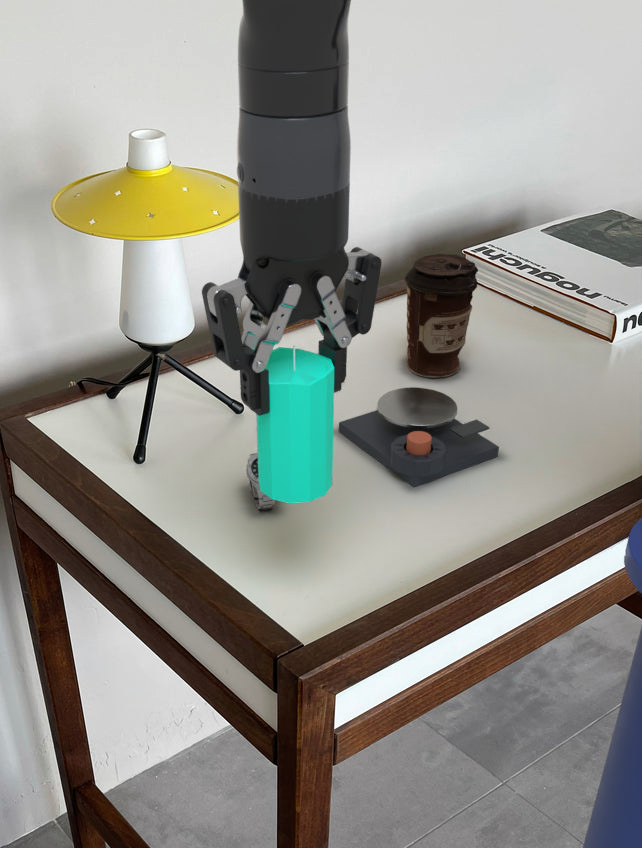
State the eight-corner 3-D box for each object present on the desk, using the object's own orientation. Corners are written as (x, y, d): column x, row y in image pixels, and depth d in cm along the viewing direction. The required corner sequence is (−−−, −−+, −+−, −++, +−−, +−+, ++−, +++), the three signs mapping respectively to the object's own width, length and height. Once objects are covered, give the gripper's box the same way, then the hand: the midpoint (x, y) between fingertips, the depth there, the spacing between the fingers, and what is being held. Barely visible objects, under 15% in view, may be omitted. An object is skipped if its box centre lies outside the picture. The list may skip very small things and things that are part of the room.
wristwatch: (251, 517, 96) (250, 472, 93) (238, 483, 101) (237, 439, 98) (287, 513, 96) (287, 468, 94) (273, 478, 101) (273, 435, 99)
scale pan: (494, 427, 104) (494, 424, 103) (429, 449, 100) (430, 446, 100) (423, 383, 112) (423, 380, 111) (361, 403, 108) (361, 399, 108)
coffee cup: (485, 373, 120) (498, 268, 113) (430, 390, 117) (440, 283, 109) (437, 346, 126) (447, 245, 119) (384, 362, 123) (391, 259, 116)
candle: (247, 472, 83) (242, 337, 76) (314, 457, 85) (315, 323, 78) (274, 510, 78) (271, 370, 72) (344, 493, 80) (348, 355, 73)
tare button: (435, 452, 100) (436, 438, 99) (416, 458, 99) (417, 445, 98) (420, 441, 102) (421, 428, 101) (401, 448, 101) (402, 434, 100)
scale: (502, 459, 104) (505, 434, 102) (411, 492, 99) (414, 466, 97) (418, 405, 114) (421, 381, 112) (332, 433, 109) (333, 408, 107)
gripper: (228, 210, 62) (237, 447, 72) (413, 171, 68) (400, 394, 78) (172, 181, 67) (188, 404, 77) (349, 147, 73) (343, 358, 83)
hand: (294, 398), depth 77 cm, fingers closed on candle, 6 cm apart
